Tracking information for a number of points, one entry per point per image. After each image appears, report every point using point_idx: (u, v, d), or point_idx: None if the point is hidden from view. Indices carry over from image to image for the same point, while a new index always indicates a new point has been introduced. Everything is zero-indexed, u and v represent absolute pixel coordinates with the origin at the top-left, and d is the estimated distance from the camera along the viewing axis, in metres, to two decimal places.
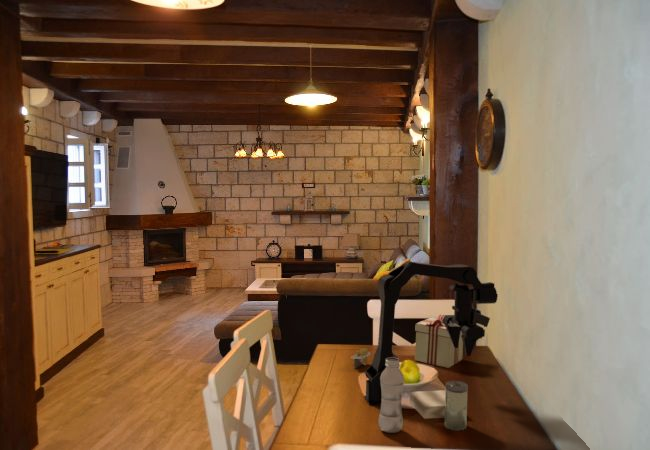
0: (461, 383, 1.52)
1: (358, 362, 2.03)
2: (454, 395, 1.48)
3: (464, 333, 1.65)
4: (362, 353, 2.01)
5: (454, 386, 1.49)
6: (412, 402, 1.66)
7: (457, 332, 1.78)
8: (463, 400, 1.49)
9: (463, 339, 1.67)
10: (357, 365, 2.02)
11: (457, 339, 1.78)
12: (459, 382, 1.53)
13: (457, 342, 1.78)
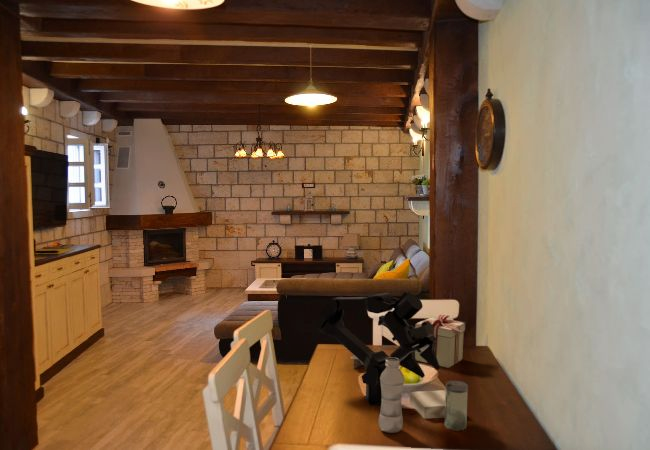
0: (461, 383, 1.52)
1: (358, 362, 2.02)
2: (454, 395, 1.48)
3: None
4: None
5: (454, 386, 1.49)
6: (412, 402, 1.66)
7: (429, 353, 1.62)
8: (463, 400, 1.49)
9: None
10: (357, 365, 2.02)
11: (433, 360, 1.61)
12: (459, 382, 1.53)
13: (435, 364, 1.60)
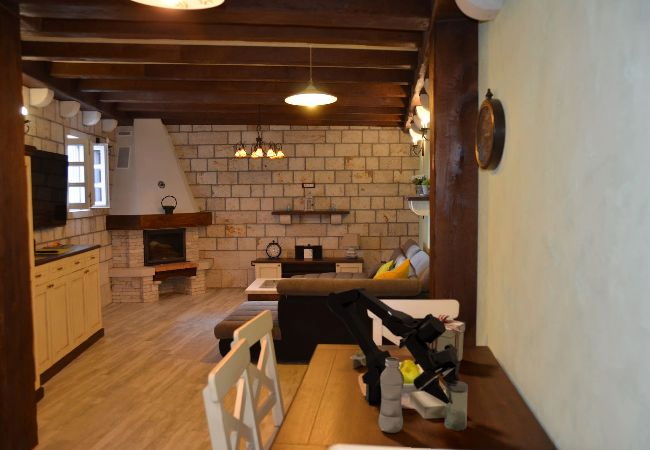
0: (461, 383, 1.52)
1: (357, 362, 2.02)
2: (454, 395, 1.48)
3: None
4: (361, 353, 2.01)
5: (454, 386, 1.49)
6: (412, 402, 1.66)
7: (453, 377, 1.57)
8: (463, 400, 1.49)
9: None
10: (356, 365, 2.02)
11: None
12: (459, 382, 1.53)
13: None
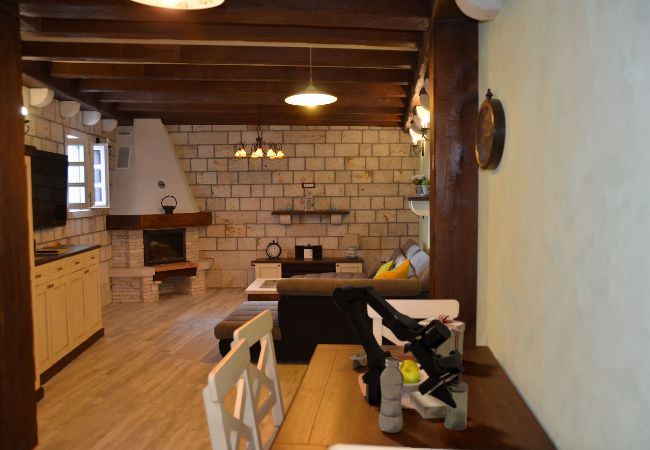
0: (461, 383, 1.52)
1: (357, 363, 2.02)
2: (454, 395, 1.48)
3: None
4: (361, 353, 2.01)
5: (454, 386, 1.49)
6: (412, 402, 1.66)
7: None
8: (463, 400, 1.49)
9: None
10: (356, 366, 2.01)
11: None
12: (459, 382, 1.53)
13: None
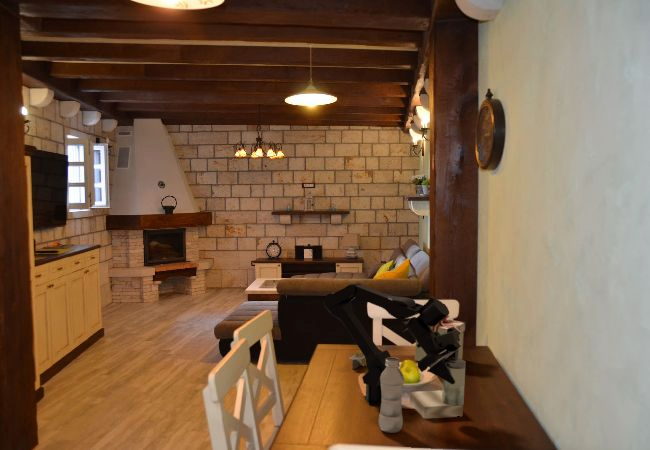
0: (458, 359, 1.54)
1: (356, 363, 2.02)
2: (453, 371, 1.50)
3: None
4: (360, 353, 2.00)
5: (452, 362, 1.51)
6: (412, 402, 1.66)
7: None
8: (461, 376, 1.51)
9: None
10: (355, 366, 2.01)
11: None
12: (456, 359, 1.55)
13: None
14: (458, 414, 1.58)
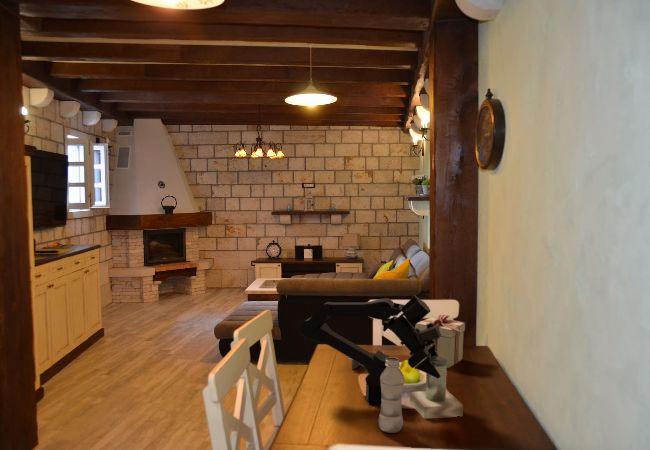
0: (439, 357, 1.64)
1: (356, 363, 2.01)
2: (438, 369, 1.60)
3: None
4: None
5: (436, 361, 1.61)
6: (412, 402, 1.66)
7: (433, 354, 1.68)
8: (445, 373, 1.61)
9: None
10: (355, 366, 2.01)
11: None
12: (437, 357, 1.65)
13: None
14: (458, 414, 1.58)
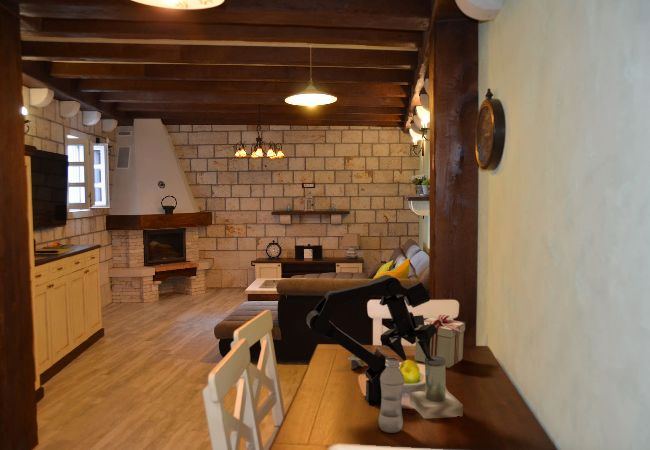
0: (437, 357, 1.64)
1: (355, 363, 2.01)
2: (436, 369, 1.60)
3: (422, 337, 1.61)
4: None
5: (435, 360, 1.60)
6: (412, 402, 1.66)
7: (399, 345, 1.73)
8: (444, 372, 1.61)
9: (422, 344, 1.63)
10: (354, 366, 2.01)
11: (403, 351, 1.73)
12: (435, 356, 1.64)
13: (404, 355, 1.72)
14: (458, 414, 1.58)
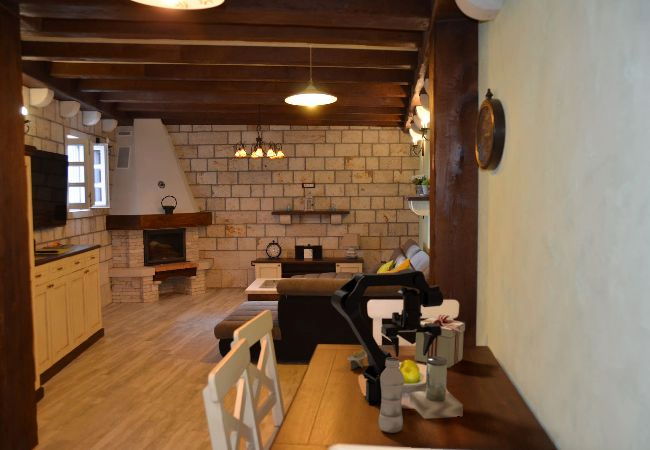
0: (439, 357, 1.64)
1: (355, 364, 2.01)
2: (438, 368, 1.60)
3: (437, 333, 1.72)
4: (358, 354, 2.00)
5: (436, 360, 1.61)
6: (412, 402, 1.66)
7: None
8: (445, 372, 1.61)
9: (432, 339, 1.72)
10: (354, 367, 2.00)
11: None
12: (437, 356, 1.65)
13: None
14: (458, 414, 1.58)
